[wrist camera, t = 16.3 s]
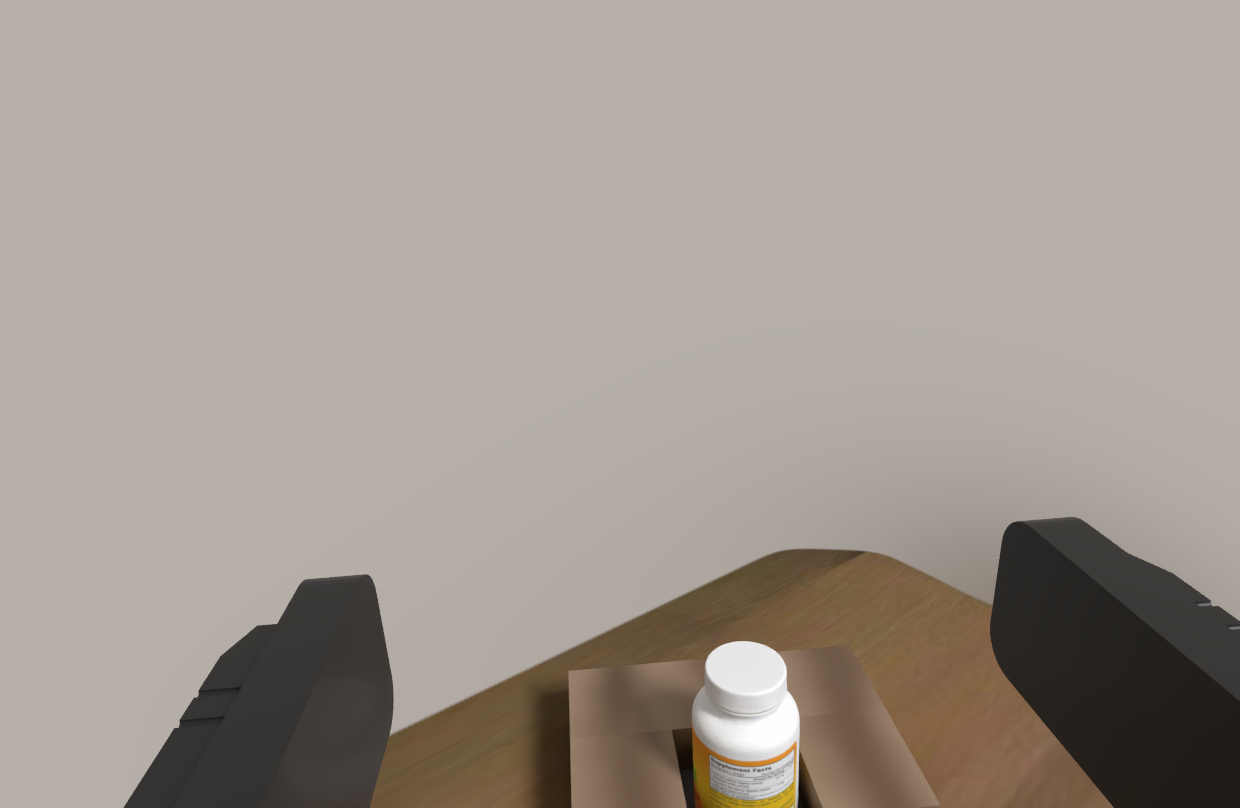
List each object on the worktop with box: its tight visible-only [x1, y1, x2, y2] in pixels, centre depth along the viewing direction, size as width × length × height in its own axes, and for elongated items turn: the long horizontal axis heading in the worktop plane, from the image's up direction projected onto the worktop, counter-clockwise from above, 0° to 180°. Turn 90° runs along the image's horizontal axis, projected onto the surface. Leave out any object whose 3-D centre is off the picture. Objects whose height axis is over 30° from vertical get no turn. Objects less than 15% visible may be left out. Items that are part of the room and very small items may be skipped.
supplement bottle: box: [692, 641, 800, 808], centre depth 39 cm, size 5×5×10 cm
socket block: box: [569, 645, 942, 808], centre depth 40 cm, size 18×18×4 cm
